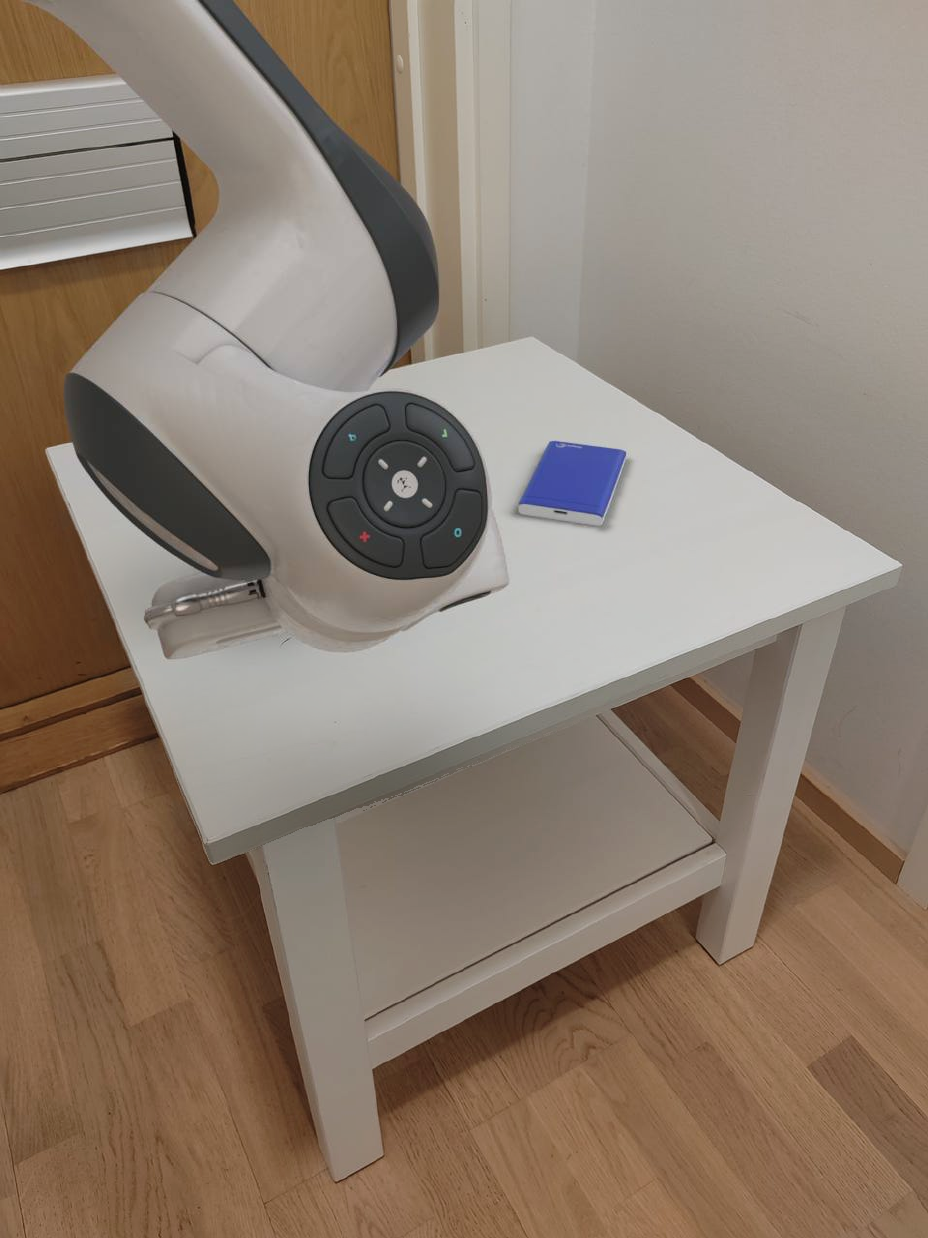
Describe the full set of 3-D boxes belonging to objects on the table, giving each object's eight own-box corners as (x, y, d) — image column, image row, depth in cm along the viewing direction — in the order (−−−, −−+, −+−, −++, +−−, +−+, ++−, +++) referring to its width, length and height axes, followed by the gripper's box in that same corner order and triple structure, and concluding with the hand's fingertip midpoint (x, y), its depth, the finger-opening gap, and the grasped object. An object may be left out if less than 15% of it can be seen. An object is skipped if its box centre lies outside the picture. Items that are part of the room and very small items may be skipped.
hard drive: (549, 439, 100) (518, 500, 91) (626, 449, 98) (603, 513, 89) (548, 452, 101) (518, 514, 92) (625, 462, 99) (602, 527, 90)
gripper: (157, 675, 47) (169, 692, 60) (537, 579, 52) (471, 614, 66) (125, 552, 47) (144, 596, 60) (506, 469, 53) (446, 526, 66)
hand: (317, 605), depth 63 cm, fingers closed
